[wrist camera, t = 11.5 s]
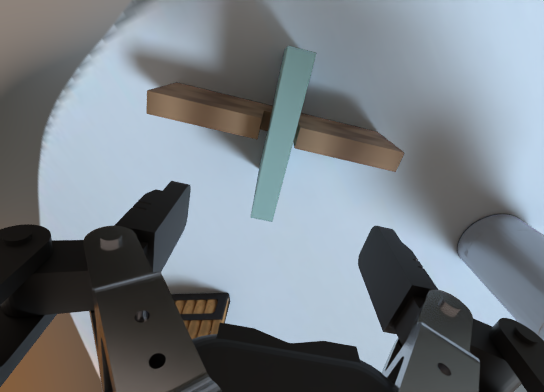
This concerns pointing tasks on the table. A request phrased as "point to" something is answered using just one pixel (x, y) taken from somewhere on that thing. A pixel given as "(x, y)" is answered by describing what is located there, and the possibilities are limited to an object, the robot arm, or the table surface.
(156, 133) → the table surface
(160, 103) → the walnut slotted plate
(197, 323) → the ammunition clip
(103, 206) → the table surface
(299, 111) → the teal slotted plate
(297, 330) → the table surface
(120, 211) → the table surface
